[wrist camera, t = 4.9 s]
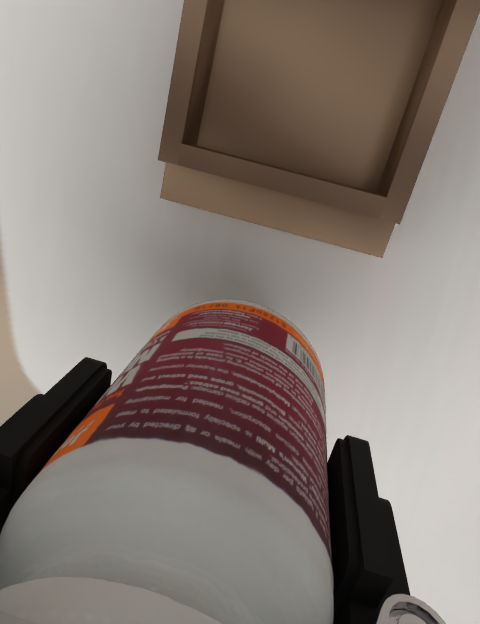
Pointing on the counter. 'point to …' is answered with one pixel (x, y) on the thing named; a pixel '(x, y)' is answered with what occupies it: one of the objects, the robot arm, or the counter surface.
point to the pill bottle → (186, 487)
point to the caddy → (309, 110)
